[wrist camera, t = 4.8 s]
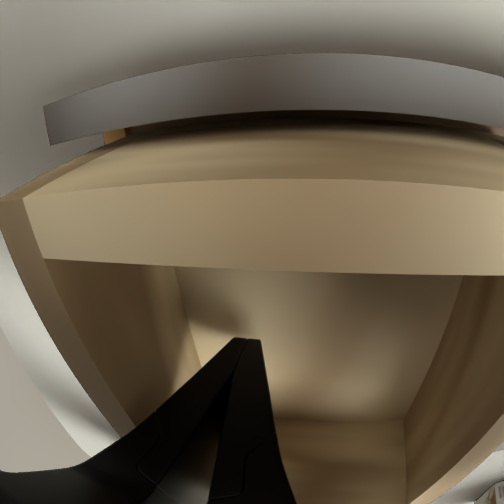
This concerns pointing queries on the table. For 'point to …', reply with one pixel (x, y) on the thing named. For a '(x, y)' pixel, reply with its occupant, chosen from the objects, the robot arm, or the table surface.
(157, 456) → the robot arm
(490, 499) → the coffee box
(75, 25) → the table surface
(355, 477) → the crate
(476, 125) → the bay
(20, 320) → the table surface
